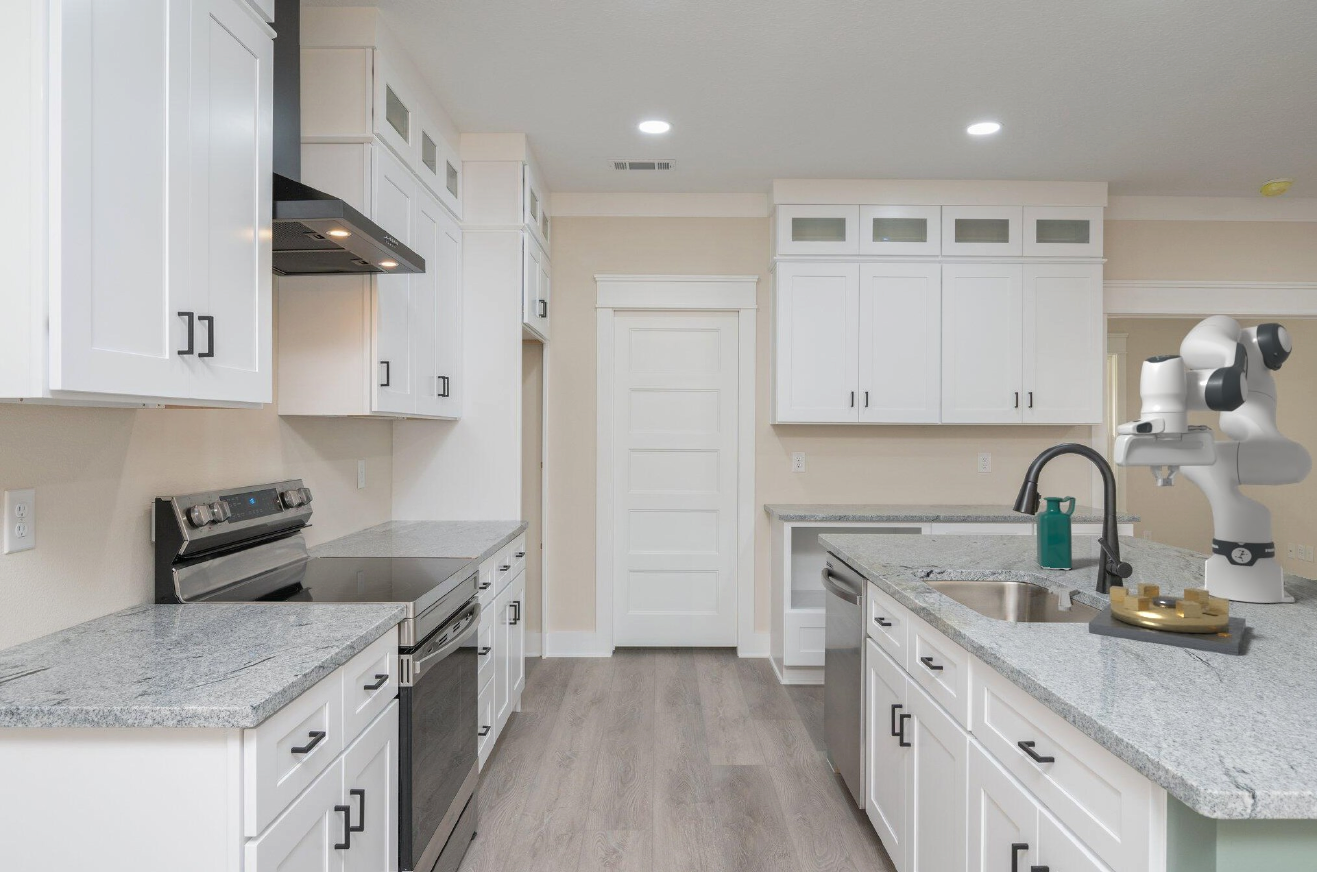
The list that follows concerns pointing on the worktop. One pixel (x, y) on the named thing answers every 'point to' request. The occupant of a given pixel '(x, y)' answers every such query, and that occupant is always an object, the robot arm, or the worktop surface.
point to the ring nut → (1170, 609)
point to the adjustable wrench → (1064, 596)
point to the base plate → (1172, 634)
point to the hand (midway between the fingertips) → (1165, 486)
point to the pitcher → (1055, 534)
